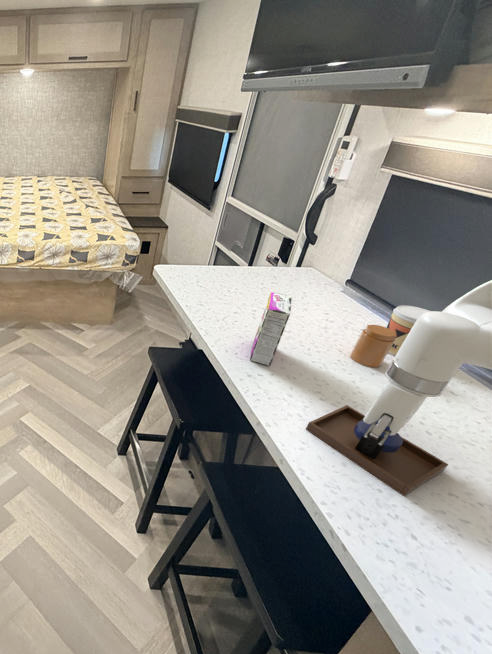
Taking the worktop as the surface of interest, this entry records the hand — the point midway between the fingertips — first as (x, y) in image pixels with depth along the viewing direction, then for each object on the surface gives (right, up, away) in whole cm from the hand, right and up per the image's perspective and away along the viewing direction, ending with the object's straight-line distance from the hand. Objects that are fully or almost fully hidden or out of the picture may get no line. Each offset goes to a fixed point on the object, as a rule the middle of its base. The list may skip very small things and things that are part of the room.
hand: (372, 445), depth 80 cm
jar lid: (0, +3, -1) cm, 3 cm away
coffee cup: (+36, +15, +30) cm, 49 cm away
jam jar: (+24, +13, +26) cm, 38 cm away
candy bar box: (-3, +14, +29) cm, 33 cm away
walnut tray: (0, -1, +1) cm, 1 cm away
